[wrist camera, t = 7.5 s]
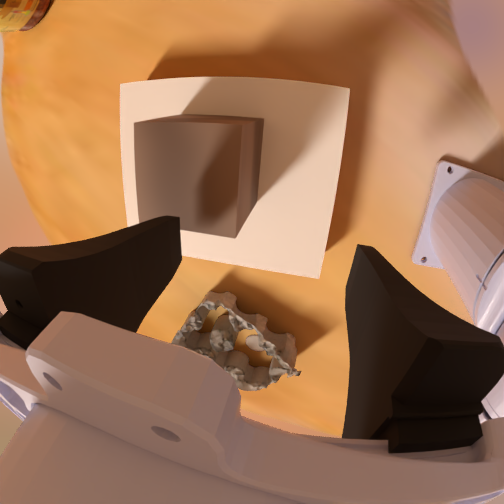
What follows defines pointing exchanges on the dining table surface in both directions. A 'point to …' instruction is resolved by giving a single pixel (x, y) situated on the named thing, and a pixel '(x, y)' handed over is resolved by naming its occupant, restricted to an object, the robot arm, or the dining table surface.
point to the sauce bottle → (21, 14)
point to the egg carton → (225, 337)
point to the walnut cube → (198, 170)
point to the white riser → (271, 166)
